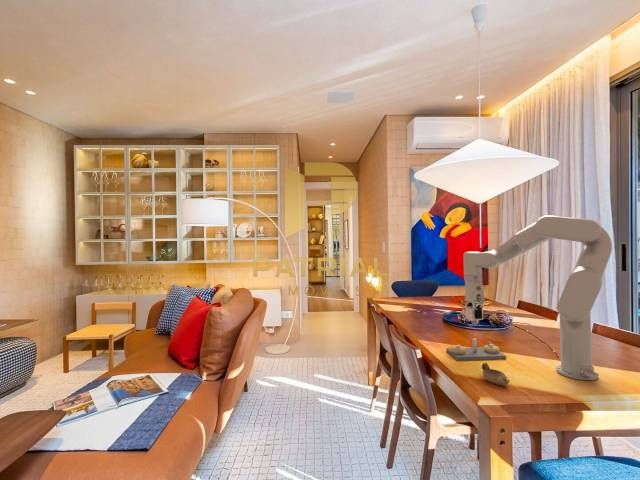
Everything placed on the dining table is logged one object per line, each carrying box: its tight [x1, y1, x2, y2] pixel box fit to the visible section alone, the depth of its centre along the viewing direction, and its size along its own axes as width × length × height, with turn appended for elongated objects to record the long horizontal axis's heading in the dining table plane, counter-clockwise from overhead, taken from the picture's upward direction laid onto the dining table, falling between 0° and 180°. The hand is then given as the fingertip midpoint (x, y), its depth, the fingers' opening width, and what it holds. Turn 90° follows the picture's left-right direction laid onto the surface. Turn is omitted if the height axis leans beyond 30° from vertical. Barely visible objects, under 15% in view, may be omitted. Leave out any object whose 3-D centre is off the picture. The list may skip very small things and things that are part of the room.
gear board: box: [446, 338, 507, 362], centre depth 148 cm, size 12×22×8 cm, turn 89°
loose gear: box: [465, 305, 484, 321], centre depth 149 cm, size 7×7×5 cm
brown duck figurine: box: [481, 362, 510, 387], centre depth 122 cm, size 13×8×5 cm, turn 4°
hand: (474, 316), depth 149 cm, fingers closed on loose gear, 7 cm apart
